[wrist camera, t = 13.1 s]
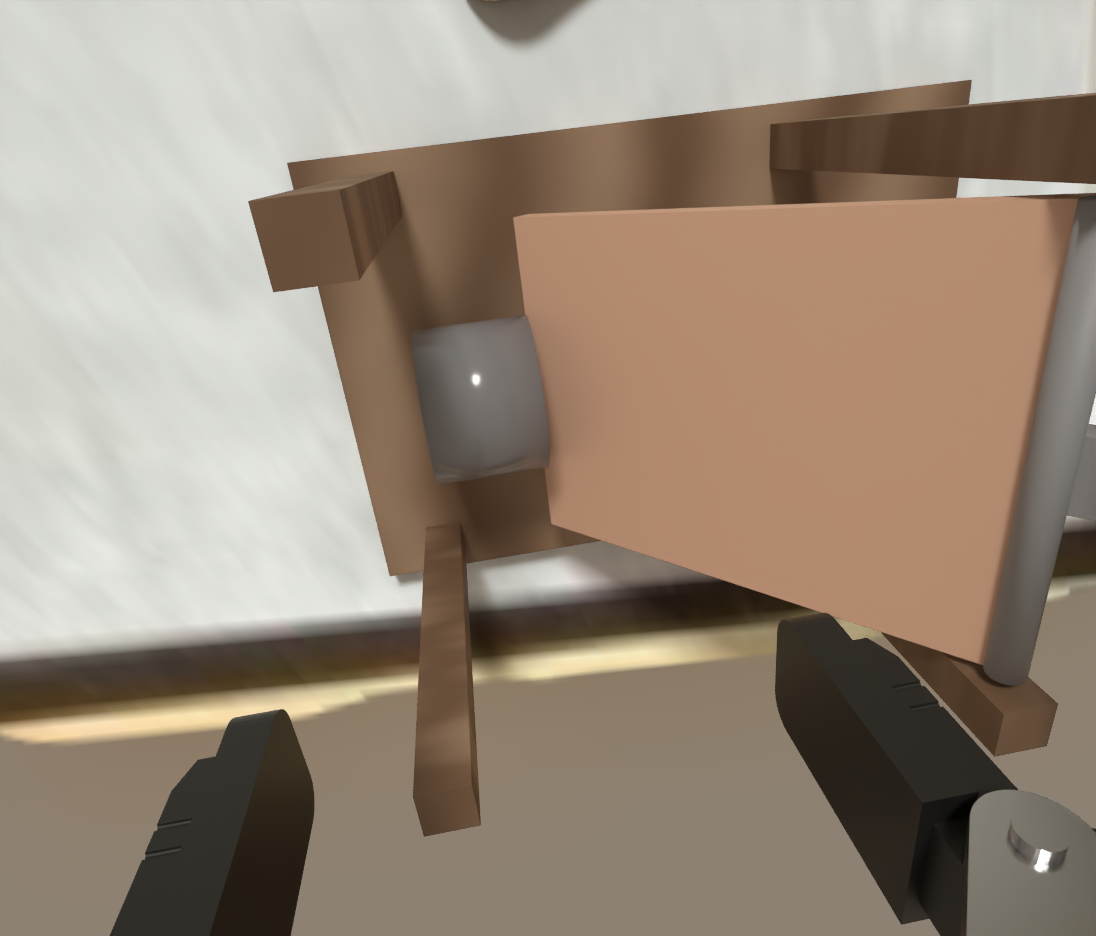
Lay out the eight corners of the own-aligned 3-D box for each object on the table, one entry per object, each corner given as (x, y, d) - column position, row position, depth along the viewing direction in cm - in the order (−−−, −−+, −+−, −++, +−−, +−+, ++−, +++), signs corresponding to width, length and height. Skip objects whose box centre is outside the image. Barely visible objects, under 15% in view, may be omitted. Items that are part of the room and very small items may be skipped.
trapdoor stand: (953, 82, 27) (1562, -3, 12) (905, 478, 34) (1250, 720, 19) (292, 162, 25) (78, 175, 10) (391, 564, 32) (348, 904, 17)
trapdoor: (1690, 157, 11) (1896, 200, 8) (1382, 724, 16) (1424, 899, 13) (559, 207, 25) (459, 229, 22) (587, 498, 30) (510, 552, 27)
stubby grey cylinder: (537, 339, 22) (409, 357, 21) (555, 494, 24) (441, 512, 24) (519, 298, 27) (414, 313, 26) (535, 431, 29) (440, 446, 29)
